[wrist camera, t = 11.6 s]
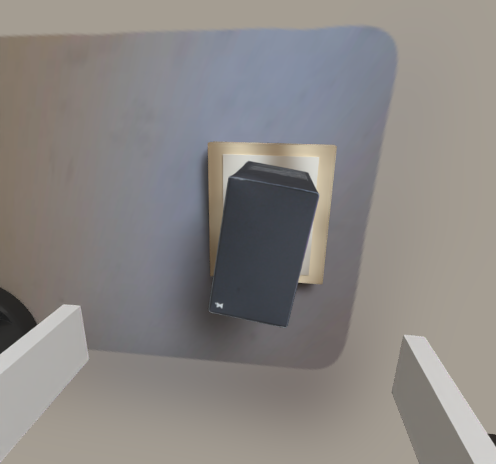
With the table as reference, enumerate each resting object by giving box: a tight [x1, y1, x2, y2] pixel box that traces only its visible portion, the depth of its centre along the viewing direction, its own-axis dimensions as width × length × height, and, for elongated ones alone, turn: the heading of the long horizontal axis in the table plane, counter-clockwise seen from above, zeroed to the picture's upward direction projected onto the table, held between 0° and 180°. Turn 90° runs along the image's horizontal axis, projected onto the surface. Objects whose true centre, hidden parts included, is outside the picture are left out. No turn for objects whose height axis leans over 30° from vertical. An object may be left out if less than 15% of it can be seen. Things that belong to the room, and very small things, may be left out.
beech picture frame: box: [208, 142, 337, 284], centre depth 33 cm, size 12×14×3 cm
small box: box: [208, 161, 320, 328], centre depth 27 cm, size 11×6×10 cm, turn 170°
